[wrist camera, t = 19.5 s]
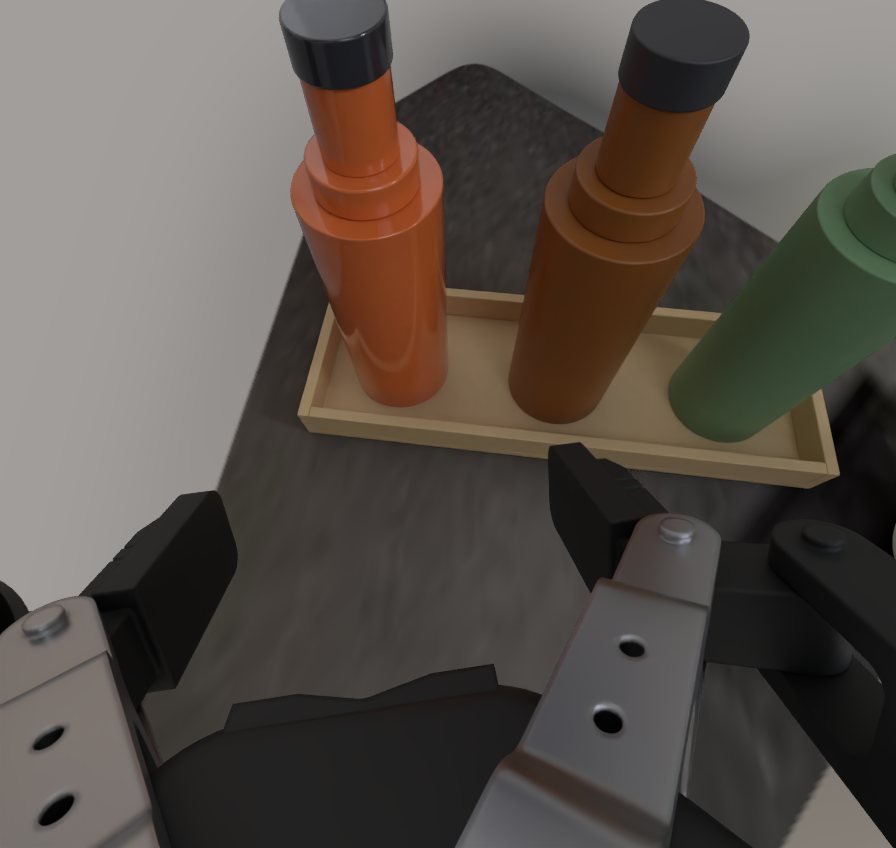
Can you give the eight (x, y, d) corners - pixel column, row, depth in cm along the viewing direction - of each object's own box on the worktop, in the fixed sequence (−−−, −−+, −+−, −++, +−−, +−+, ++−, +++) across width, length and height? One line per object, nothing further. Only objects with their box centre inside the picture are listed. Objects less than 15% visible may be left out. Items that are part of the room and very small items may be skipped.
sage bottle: (711, 459, 26) (1135, 157, 10) (648, 381, 28) (913, 24, 12) (787, 416, 27) (1289, 76, 11) (721, 344, 29) (1060, -34, 13)
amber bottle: (540, 441, 26) (673, 126, 10) (491, 366, 28) (536, 4, 12) (621, 399, 27) (859, 52, 11) (568, 329, 29) (704, -50, 13)
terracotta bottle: (380, 423, 27) (267, 100, 11) (342, 351, 29) (200, -13, 13) (465, 383, 28) (476, 31, 12) (422, 315, 30) (384, -63, 14)
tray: (308, 432, 27) (296, 415, 25) (343, 302, 31) (335, 277, 29) (809, 489, 25) (840, 475, 23) (782, 343, 29) (807, 320, 27)
